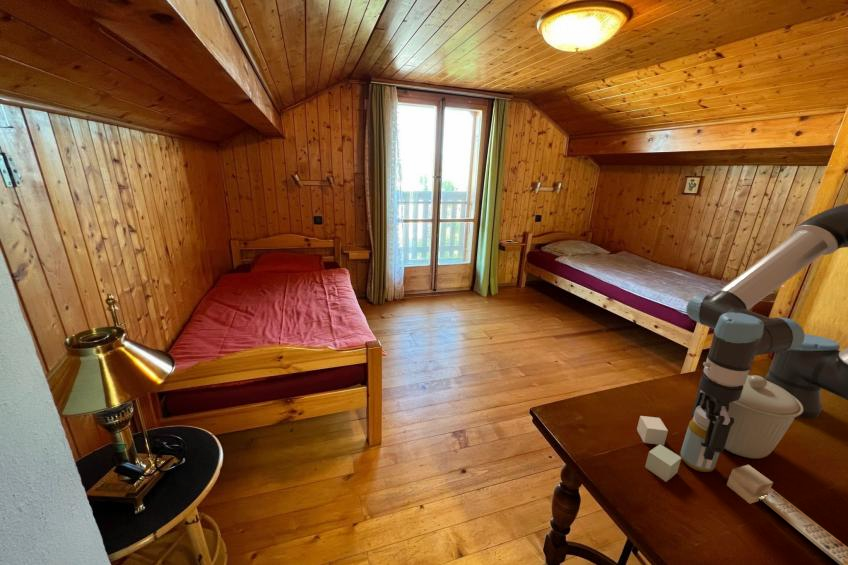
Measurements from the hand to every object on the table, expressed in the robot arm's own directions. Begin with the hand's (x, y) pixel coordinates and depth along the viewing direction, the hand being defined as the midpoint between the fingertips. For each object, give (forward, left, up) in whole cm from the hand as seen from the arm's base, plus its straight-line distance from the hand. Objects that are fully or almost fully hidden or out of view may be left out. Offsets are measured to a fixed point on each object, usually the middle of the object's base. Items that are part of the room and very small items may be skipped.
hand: (698, 456), depth 88 cm
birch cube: (-6, +8, -2) cm, 10 cm away
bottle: (0, 0, -2) cm, 2 cm away
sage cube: (+10, +2, -2) cm, 11 cm away
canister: (-16, -7, -3) cm, 17 cm away
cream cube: (+6, -9, -2) cm, 11 cm away
